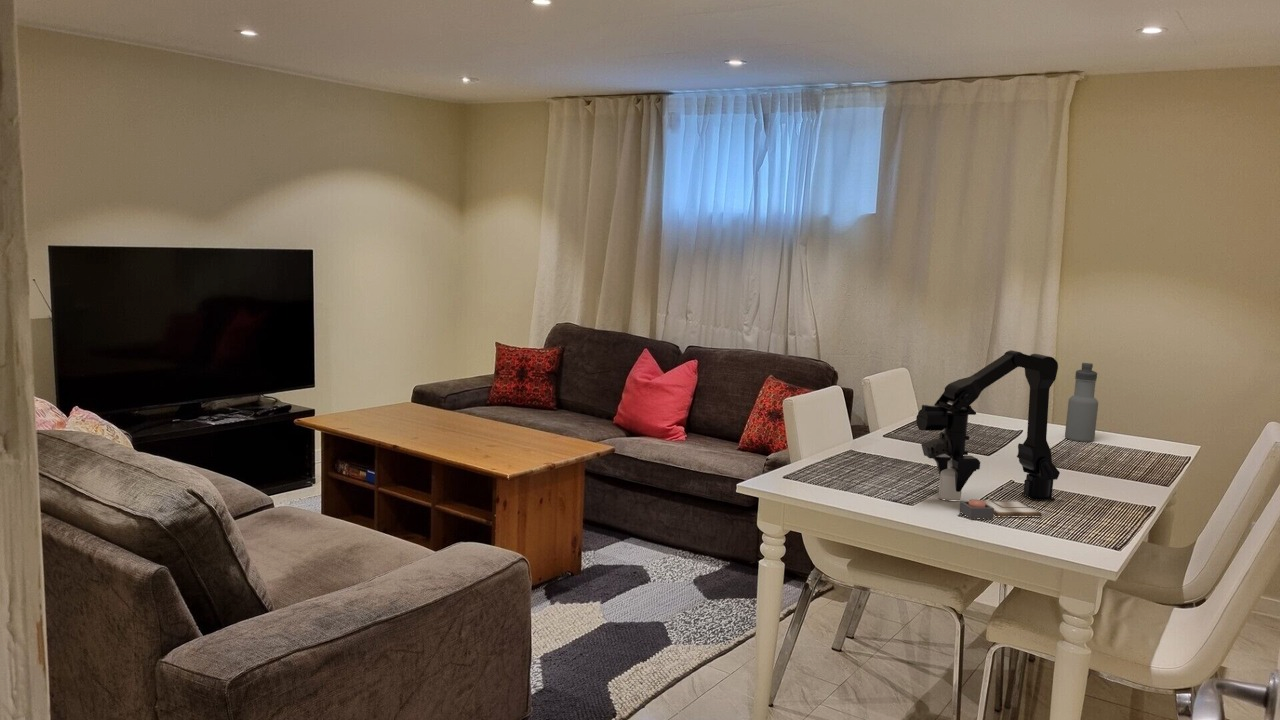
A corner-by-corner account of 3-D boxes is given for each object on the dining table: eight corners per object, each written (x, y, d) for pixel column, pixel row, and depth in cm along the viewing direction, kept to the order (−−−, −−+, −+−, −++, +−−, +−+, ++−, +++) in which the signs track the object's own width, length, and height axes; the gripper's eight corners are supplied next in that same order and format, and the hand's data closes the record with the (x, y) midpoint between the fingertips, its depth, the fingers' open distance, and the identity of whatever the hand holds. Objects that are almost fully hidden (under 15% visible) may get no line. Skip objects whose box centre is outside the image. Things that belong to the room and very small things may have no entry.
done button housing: (980, 512, 237) (982, 501, 236) (992, 519, 231) (994, 508, 231) (959, 512, 236) (960, 501, 236) (970, 519, 230) (971, 508, 230)
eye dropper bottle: (956, 503, 244) (960, 459, 243) (936, 499, 248) (939, 455, 246) (962, 500, 248) (966, 456, 246) (941, 495, 251) (945, 453, 249)
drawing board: (1017, 505, 245) (1018, 499, 245) (1041, 517, 234) (1041, 512, 234) (975, 505, 244) (976, 499, 243) (997, 517, 233) (997, 512, 233)
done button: (979, 506, 236) (980, 499, 235) (987, 511, 232) (988, 504, 231) (965, 507, 235) (965, 499, 235) (972, 511, 231) (973, 504, 231)
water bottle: (1064, 435, 341) (1072, 360, 337) (1094, 438, 337) (1102, 363, 333) (1064, 440, 332) (1072, 363, 328) (1094, 443, 328) (1102, 366, 324)
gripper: (912, 422, 253) (907, 477, 255) (943, 437, 235) (937, 496, 237) (949, 423, 255) (945, 477, 257) (983, 438, 236) (978, 497, 239)
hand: (950, 487), depth 247 cm, fingers closed on eye dropper bottle, 8 cm apart
